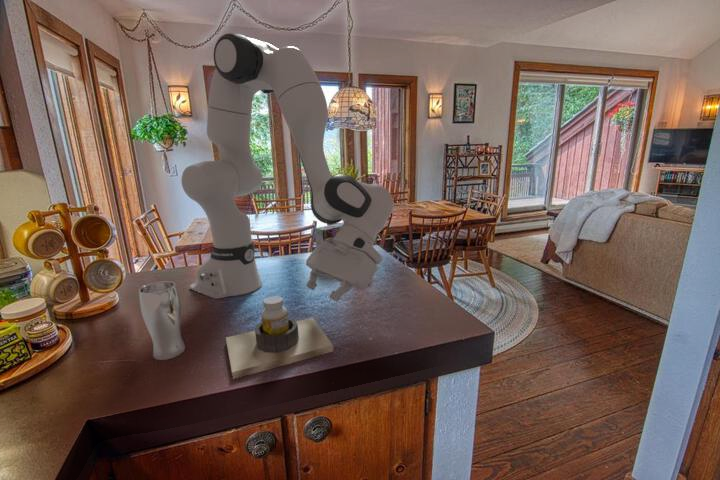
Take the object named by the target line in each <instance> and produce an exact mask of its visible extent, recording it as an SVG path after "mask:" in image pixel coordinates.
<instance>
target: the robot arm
mask: <svg viewBox="0 0 720 480" xmlns="http://www.w3.org/2000/svg"><path fill="white" fill-rule="evenodd" d="M213 63H214V66H215V69H214V71H213V75H212V78H211V82H210V86H209V94H208V103H207V124H206V136H207V138H208V139H209V141H211V143H213V144H214V145H216V147H217V149H218V153H219V160H209V161H208V160H206V161H200V162H197V163H194V164H191V165H188V166H187V167H186V168H184V170H183V172H182V175H181V187H182V190H183V191H184V193H185V194H186V195H187V197H189V199H191V200H192V201H194V202H196V203H197V204H198V205H199V206H200V207H201V208H202V210H203V211H204V213H205V215H206V217H207V219H208V222H209V226H210V231H211V237H212V243H213V245H212V246H209V247H207V248H206V249H207V252H210V255H209V258H208V259H207V260H206V261H205V262H204V263H203V264H202V265H200V266H199V267H198V268H197V271H196V281H193V283H191V284H190V285H189V290H191V289H192V290H191V291H193V290H194V292H196V291H197V292H196V293H199V294H201V293H202V295H205V296H207V297H210V298H212V299H216V300H217V299H222V298H227V297H236V296H242V295H245V294H249V293H252V292H254V291H257V290H258V289H260V288H261V287H262V285H263V282H262V280H261V277H260V274H259V272H258V268H257V263H256V259H255V253H256V251H255V244H254V241H253V239H252V230H251V221H250V218H249V216H248V215H247V214H246V213H244V212H242V211H241V210H240V209H239V208H238V206H237V204H236V201H235V198H238V197H245V196H247V195H251V194H252V193H254V192H256V191H258V190H259V189H260V188H261V186H262V183H263V173H262V170H261V169H260V167H259V166H258V165H257V163H256V162H255V161H254V158H253V155H252V150H251V141H250V139H251V138H250V137H251V136H250V135H251V123H252V111H253V99H254V96H255V95H256V94H257V92H261V93H263V94H265V95H266V94H270V93H273V94H274V95H275V100H276V102H277V103H278V106H279V109H280V111H281V113H282V115H283V119H284V121H285V122H286V126H287V127H288V129H289V130H288V131H290V134H291V136H292V137H291V138H292V139H293V142H294V145H295V147H296V149H297V151H298V156H299V158H300V161H301V164H302V167H303V170H304V172H305V176H306V179H307V182H308V184H309V187H310V208H311V212H312V214H313V216H314V217H315V218H316V219H317V220H318V221H320V222H321V223H324V224H327V225H334V224H339V223H341V221H343V223H344V224H343V225H342V227H341V229H340V230H339V232H338V233H337V235H336V236H335V238H334V239H328V240H325V241H323V242H322V243H320V244H319V245H318V246H317V247H316V246H315V248H314V249H313V251H312V252H311V253H310V255H309V256H307V259H306V262H305V265H306V266H307V267H308V268H309V269H311V270H310V273H309V278H308V279H309V280H307V283H306V285H305V286H306V287H307V288H308V289H309V290H312V291H314V290H315V289H316V287H317V286H318V283H317V280H318V278H320V277H321V276H322V275H323V276H325V277H328V278H331V279H333V280H335V281H338V282H340V284H339V285H340V286H339V287H338V288H337V289H336V290H332V291H331V293H330V295H329V299H331V300H332V301H334V302H336V303H337V302H339V301H340V299H341V298H342V296H344V295H345V294H347V293H349V292H350V290H351V289H352V288H355V289H357V290H359V291H363V290H364V289H366V288H367V287H368V286H369V284H370V283H371V281H372V279H373V277H374V276H375V274H376V272H377V270H378V269H377V268H378V265H379V264H381V263H382V260H383V256H382V255H381V253H379V251H378V250H377V249H376V248H375V247H374V243H375V241H376V237H377V235H379V233H381V231H383V229H384V227H385V226H386V224H387V222H388V220H389V218H390V217H391V215H392V214H391V213H392V212H393V210H394V205H395V203H394V197H393V196H392V194H391V192H390V191H389V190H388V189H387V188H385V187H384V186H382V185H381V184H377V183H366V182H362V181H360V180H357V179H355V178H354V177H352V176H350V175H349V174H348V175H347V174H343V173H342V174H336V175H333V176H332V173H331V171H330V170H331V169H330V168H329V164H328V161H327V159H326V155H325V151H324V138H325V132H326V129H327V124H328V119H329V109H328V104H327V103H328V102H327V100H326V99H327V98H326V95H325V92H324V91H323V88H322V86H321V83H320V80H319V78H318V76H317V74H316V71H315V70H314V68H313V67H312V65H311V63H310V61H309V60H308V58H307V57H306V55H305V54H304V53H303V51H302V50H301V49H300V48H298V47H295V46H289V45H287V46H283V47H276V46H274V45H272V44H270V43H268V42H266V41H265V40H262V39H261V40H260V39H256V38H252V37H247V36H246V35H243V34H242V33H241V34H240V33H225V34H223V35H221V36H220V37H219V38H218V40H217V41H216V42H215V45H214V48H213Z"/></svg>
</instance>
